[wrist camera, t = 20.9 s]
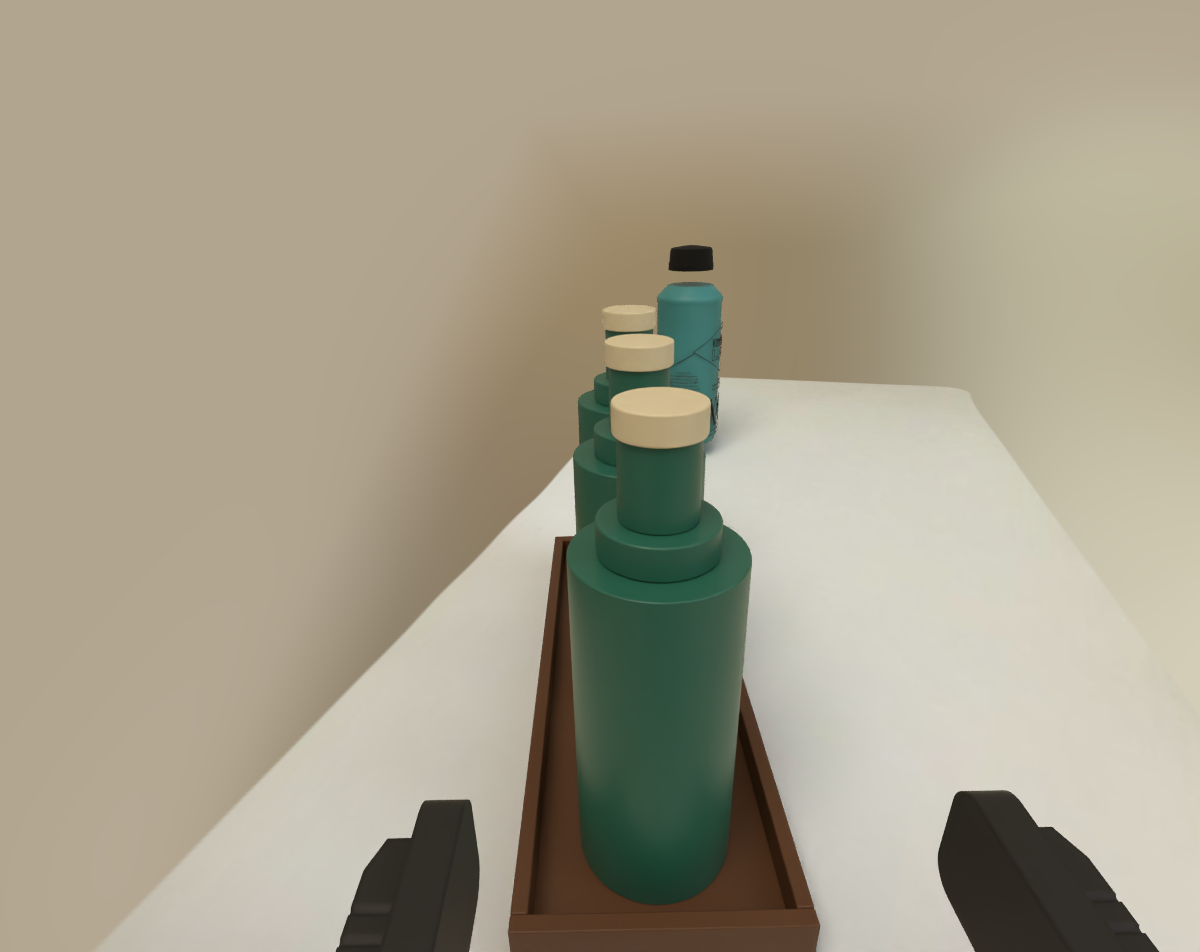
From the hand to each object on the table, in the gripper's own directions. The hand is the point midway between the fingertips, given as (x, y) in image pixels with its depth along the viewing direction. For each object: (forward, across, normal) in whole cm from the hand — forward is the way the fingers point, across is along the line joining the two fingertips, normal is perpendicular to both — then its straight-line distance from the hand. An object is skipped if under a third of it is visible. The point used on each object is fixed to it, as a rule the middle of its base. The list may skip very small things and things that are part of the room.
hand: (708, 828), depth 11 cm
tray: (+19, 0, +14) cm, 24 cm away
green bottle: (+10, 0, +14) cm, 17 cm away
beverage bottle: (+54, -7, +14) cm, 57 cm away
